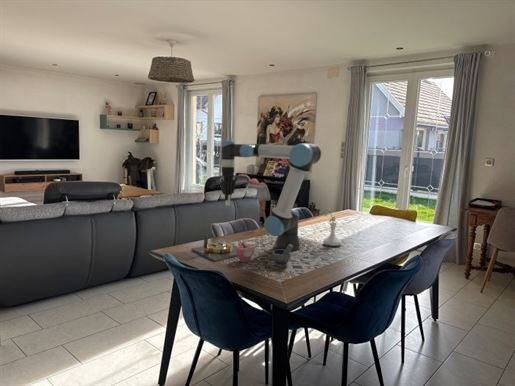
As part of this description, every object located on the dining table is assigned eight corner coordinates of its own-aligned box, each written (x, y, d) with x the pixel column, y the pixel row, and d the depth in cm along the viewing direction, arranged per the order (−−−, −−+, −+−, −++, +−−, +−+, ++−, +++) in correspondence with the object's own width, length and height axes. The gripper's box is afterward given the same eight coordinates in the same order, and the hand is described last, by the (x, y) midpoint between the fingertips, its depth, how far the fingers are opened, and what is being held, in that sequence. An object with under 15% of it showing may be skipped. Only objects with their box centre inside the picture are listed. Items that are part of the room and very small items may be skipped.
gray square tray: (250, 253, 216) (250, 245, 216) (214, 261, 201) (214, 252, 200) (225, 243, 235) (226, 236, 234) (191, 250, 219) (191, 242, 219)
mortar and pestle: (268, 265, 197) (268, 242, 195) (277, 260, 205) (278, 239, 203) (287, 270, 191) (288, 246, 189) (296, 265, 199) (297, 242, 197)
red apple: (239, 265, 197) (239, 246, 195) (233, 259, 204) (233, 241, 203) (256, 263, 200) (256, 244, 199) (250, 258, 208) (250, 240, 207)
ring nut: (226, 245, 226) (226, 229, 225) (236, 251, 215) (236, 234, 214) (199, 248, 218) (200, 232, 217) (208, 254, 207) (208, 237, 206)
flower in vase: (329, 241, 246) (331, 202, 243) (345, 245, 238) (347, 205, 235) (317, 244, 237) (319, 205, 234) (332, 249, 229) (335, 207, 226)
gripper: (231, 165, 237) (231, 203, 240) (215, 166, 227) (215, 205, 231) (240, 166, 232) (239, 204, 235) (224, 167, 222) (224, 207, 226)
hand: (227, 205), depth 233 cm, fingers closed
